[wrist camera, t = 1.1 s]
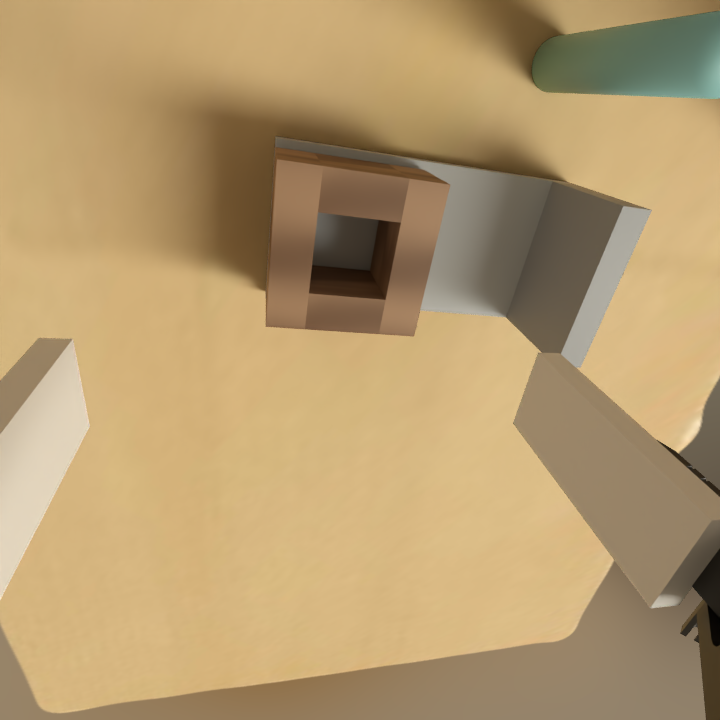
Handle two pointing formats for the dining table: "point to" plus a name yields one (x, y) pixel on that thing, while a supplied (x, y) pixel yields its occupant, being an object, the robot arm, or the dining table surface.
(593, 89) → the teal dowel
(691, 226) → the dining table surface
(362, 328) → the walnut block
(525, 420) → the robot arm
